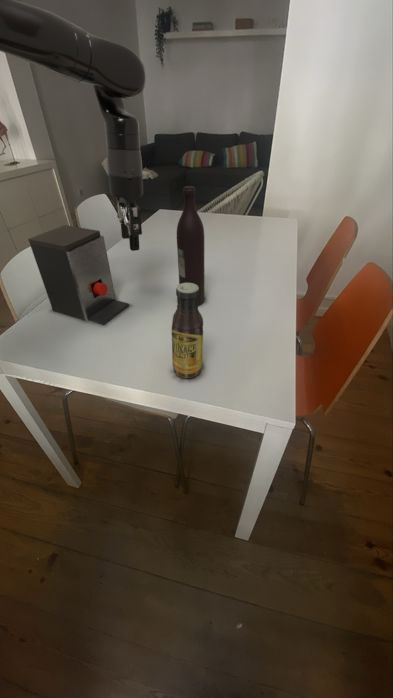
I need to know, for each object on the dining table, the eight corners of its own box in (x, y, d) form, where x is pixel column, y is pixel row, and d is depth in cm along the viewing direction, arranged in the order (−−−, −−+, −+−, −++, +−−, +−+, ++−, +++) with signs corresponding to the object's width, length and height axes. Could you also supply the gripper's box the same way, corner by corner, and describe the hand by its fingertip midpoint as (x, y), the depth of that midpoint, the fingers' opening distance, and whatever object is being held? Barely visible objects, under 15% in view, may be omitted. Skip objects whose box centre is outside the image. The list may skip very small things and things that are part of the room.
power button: (108, 292, 86) (106, 281, 84) (100, 297, 83) (98, 286, 81) (102, 291, 86) (100, 280, 84) (94, 296, 84) (92, 285, 82)
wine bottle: (187, 293, 96) (183, 182, 77) (208, 298, 93) (209, 185, 75) (175, 303, 91) (168, 188, 72) (197, 309, 88) (195, 191, 70)
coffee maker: (130, 305, 91) (118, 233, 78) (102, 326, 82) (84, 250, 70) (82, 292, 97) (64, 224, 85) (52, 310, 89) (27, 238, 77)
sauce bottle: (168, 376, 67) (160, 291, 55) (180, 358, 72) (175, 276, 59) (197, 384, 65) (195, 298, 53) (207, 365, 70) (208, 282, 57)
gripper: (102, 166, 74) (109, 235, 84) (115, 178, 64) (122, 256, 74) (133, 166, 77) (137, 233, 87) (151, 178, 67) (153, 252, 77)
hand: (130, 243), depth 81 cm, fingers open, 8 cm apart
